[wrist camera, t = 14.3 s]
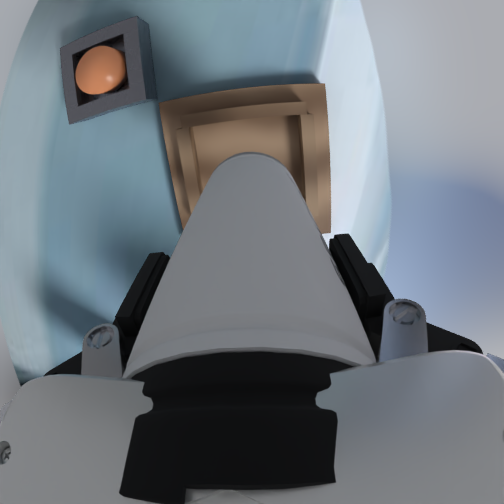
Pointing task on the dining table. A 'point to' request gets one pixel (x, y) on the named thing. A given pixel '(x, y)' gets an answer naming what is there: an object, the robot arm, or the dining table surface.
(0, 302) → the dining table surface
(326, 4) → the dining table surface
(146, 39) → the button housing
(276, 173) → the travel mug
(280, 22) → the dining table surface
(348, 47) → the dining table surface
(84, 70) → the button
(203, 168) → the tan flat square tray
